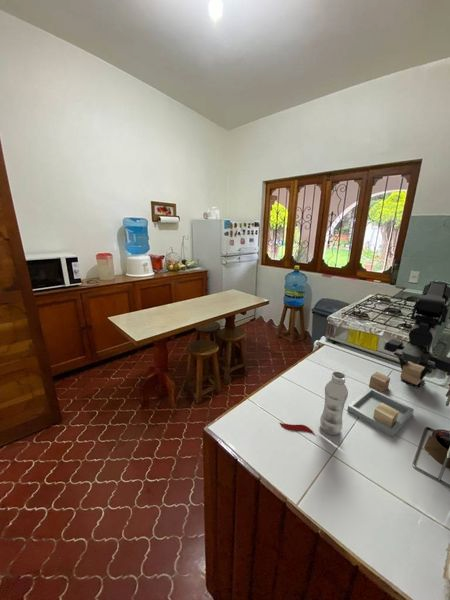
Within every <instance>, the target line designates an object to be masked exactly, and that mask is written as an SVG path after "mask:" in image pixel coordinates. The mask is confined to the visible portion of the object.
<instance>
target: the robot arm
mask: <svg viewBox="0 0 450 600" xmlns="http://www.w3.org/2000/svg"><path fill="white" fill-rule="evenodd" d="M448 284H449V283H447V282H444V281H436V280H431V281H430V282H429V284H427V285H424V286H423V289H422V293H421V296H420V297H419V298H418V299H416V301H415V302H414V307H413V309H412V312H411V316H410V320H413V321H414V324H413V326H412V328H411V329H410V331H409V333H408V339H409V340H408V342H407V343H406V345H405V346H404V342H403V341H400V340H397V339H395V338H391V339H390V340H387V342H385V343H384V347H383V349H384V350H385V351H387V352H391V353H393V355H394V356H396V357H397V358H398V360H399V364H400V368H401V369H400V370H401V371H402V368H403V365H405V364H406V363H407V362H408V361H410V362H412V363H414V364H418V365H421V366H423V367H425V368H424V370H423V372H422V375H421V378H420V380H422V381H421V382H420V383H419V384H418V385H415V384H413V383H411V382H408V381H406V380H404V379H401V378H400V380H401V381H403V382H405V383H407V384H409V385H412V386H414V387H416V388H418V389H419V388H421V387H422V386H423V384H424V383H425V382H426V381H425V380H424V378H425V376H426V375H429V374H432V372H433V370H434V371H437V370H439V371H442V372H444V373H450V357H448V356H446V355H443V354H440V355H439V356H435V355H432V354H431V350H432V349H431V348H432V346H433V341H434V338H435V335H436V331H437V327H438V326H442V324H443V323H446V320H447V316H448V312H449V308H448V305H447V303H450V286H448Z"/></svg>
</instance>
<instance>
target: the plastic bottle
mask: <svg viewBox="0 0 450 600" xmlns="http://www.w3.org/2000/svg"><path fill="white" fill-rule="evenodd" d="M330 379H331V380H329V381H328V382H327V383H326V384H325V387H324V405H323V410H322V413H321V416H320V419H319V420H320V421H319V425H320V427H321V429H322V431H324V433H326V434H328V435H331V436H336V435H339V434H340V433H341V431H343V430H342V429H343V412H344V409H345V408H344V407H345V404H346V402H347V399H348V395H349V390H348V388H347V386H346V384H345V383H346V375H345V374H344V373H343V372H341V371H332V373H331V377H330Z"/></svg>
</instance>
